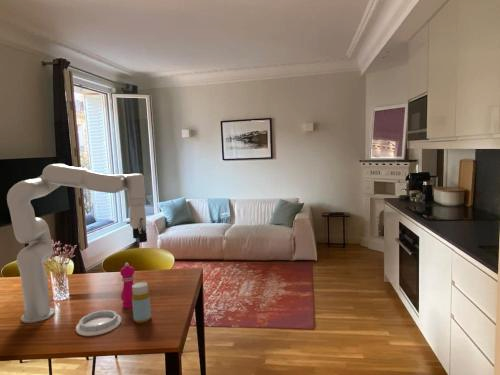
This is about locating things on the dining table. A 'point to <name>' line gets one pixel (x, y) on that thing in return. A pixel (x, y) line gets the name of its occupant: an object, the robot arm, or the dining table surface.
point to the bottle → (141, 302)
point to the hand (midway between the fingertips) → (140, 240)
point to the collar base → (98, 323)
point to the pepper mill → (127, 285)
